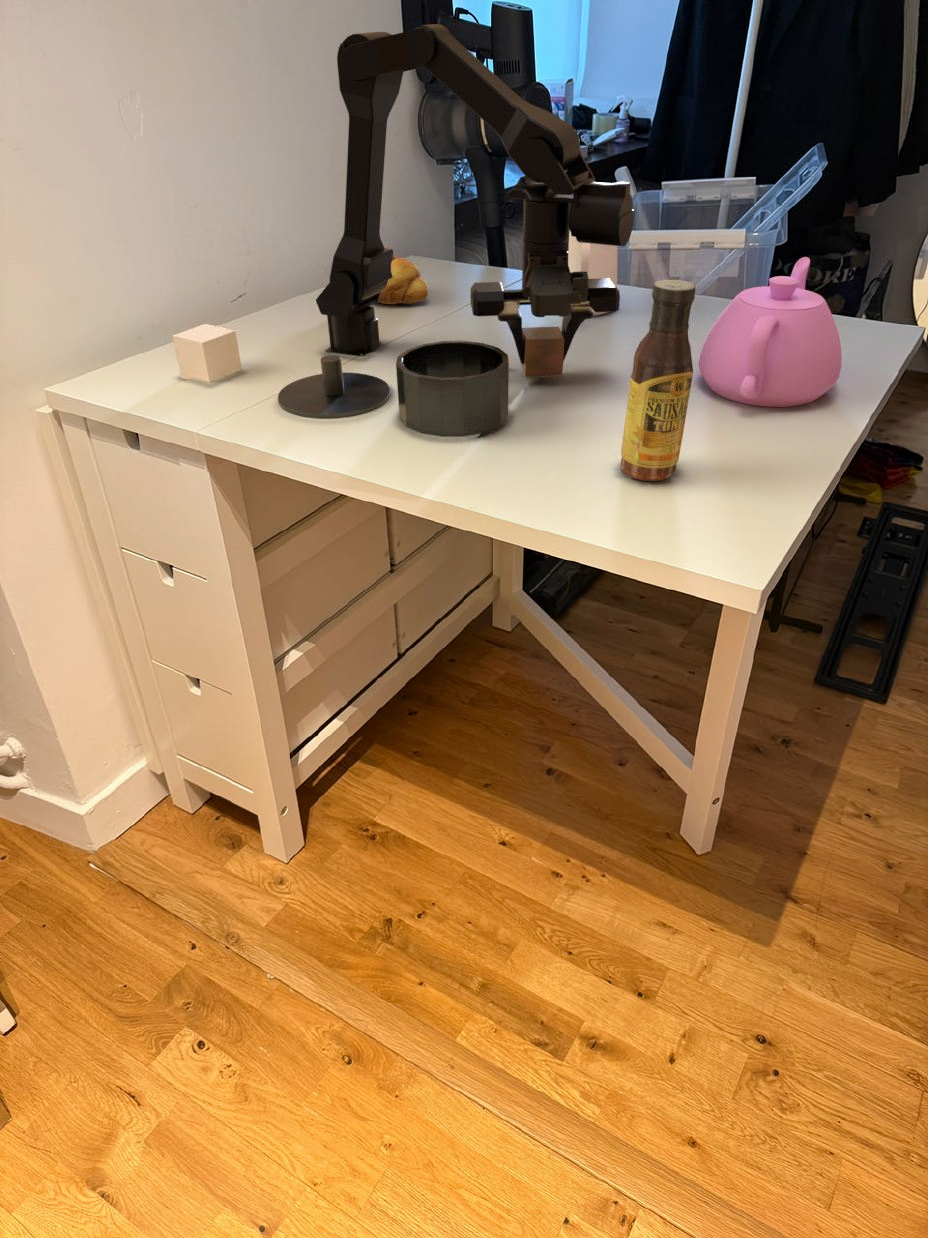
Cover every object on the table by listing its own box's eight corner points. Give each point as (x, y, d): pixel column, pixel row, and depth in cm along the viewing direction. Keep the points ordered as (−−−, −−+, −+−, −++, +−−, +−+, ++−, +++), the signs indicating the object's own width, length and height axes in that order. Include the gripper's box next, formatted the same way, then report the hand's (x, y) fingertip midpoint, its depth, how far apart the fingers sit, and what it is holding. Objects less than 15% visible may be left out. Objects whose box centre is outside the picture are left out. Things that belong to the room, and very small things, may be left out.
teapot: (819, 429, 104) (846, 312, 96) (674, 405, 110) (688, 294, 102) (849, 362, 122) (874, 259, 114) (722, 345, 128) (738, 247, 120)
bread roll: (439, 299, 150) (438, 250, 145) (403, 313, 144) (400, 263, 139) (383, 288, 156) (380, 241, 152) (346, 301, 150) (342, 252, 145)
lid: (257, 413, 111) (249, 370, 108) (315, 374, 122) (310, 334, 119) (357, 429, 106) (353, 385, 103) (409, 387, 117) (407, 346, 114)
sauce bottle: (639, 489, 92) (660, 297, 81) (608, 465, 97) (624, 280, 85) (690, 476, 94) (718, 288, 83) (658, 454, 99) (680, 272, 87)
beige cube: (210, 386, 119) (201, 342, 115) (181, 378, 122) (171, 335, 118) (242, 372, 123) (235, 330, 119) (213, 365, 126) (205, 323, 122)
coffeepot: (616, 286, 154) (625, 169, 143) (616, 331, 134) (627, 198, 123) (554, 285, 156) (559, 169, 145) (546, 329, 136) (550, 198, 125)
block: (525, 377, 115) (526, 339, 113) (521, 364, 120) (521, 327, 117) (562, 375, 116) (564, 338, 113) (557, 362, 120) (558, 326, 117)
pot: (381, 431, 106) (377, 371, 101) (427, 392, 116) (425, 335, 111) (484, 447, 101) (483, 385, 97) (522, 405, 111) (523, 347, 107)
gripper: (475, 257, 101) (476, 387, 110) (634, 252, 102) (622, 381, 111) (469, 235, 110) (471, 357, 119) (615, 230, 111) (606, 352, 120)
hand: (541, 362), depth 117 cm, fingers closed on block, 5 cm apart
